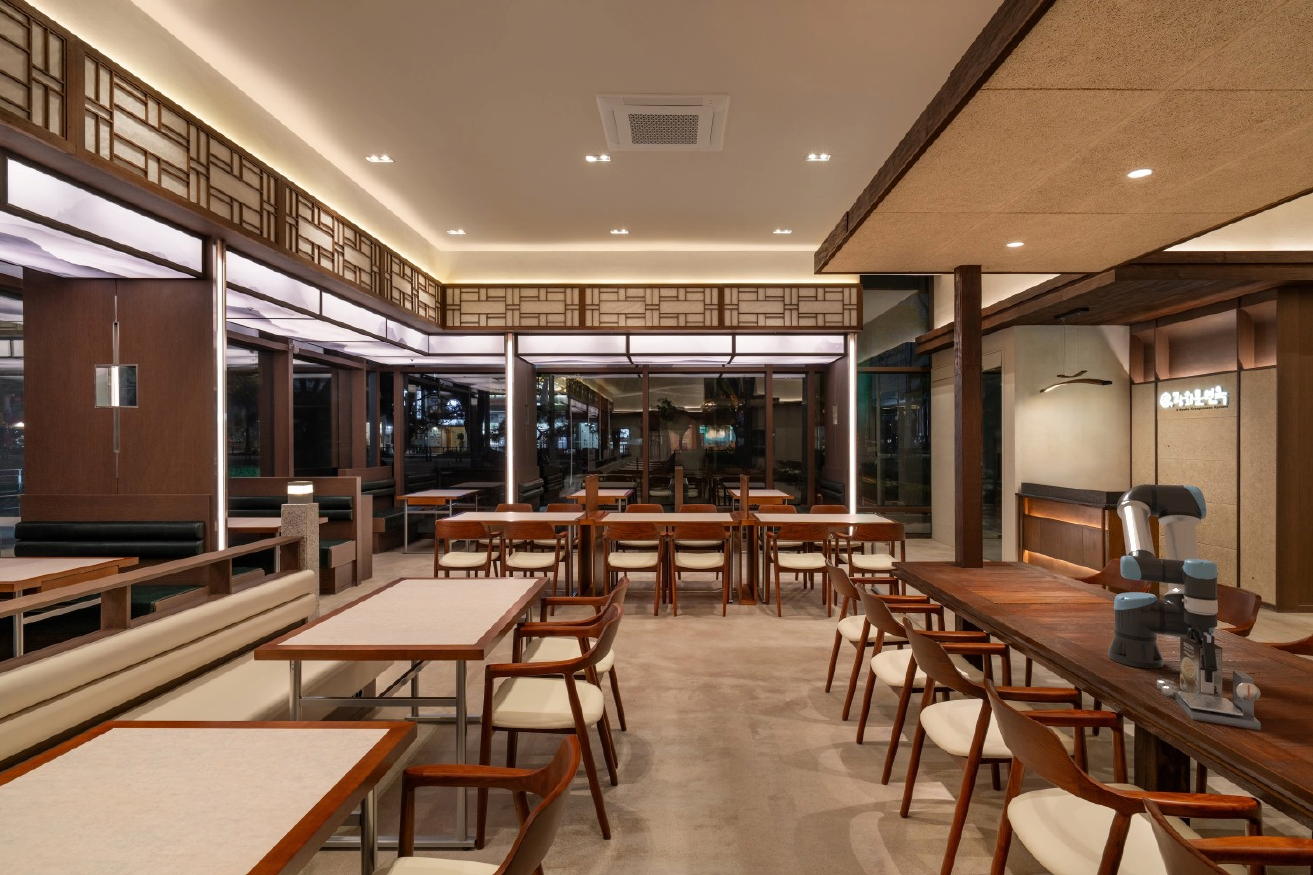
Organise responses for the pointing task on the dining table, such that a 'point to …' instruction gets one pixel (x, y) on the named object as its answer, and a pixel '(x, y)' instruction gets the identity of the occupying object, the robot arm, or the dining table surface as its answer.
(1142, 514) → the robot arm
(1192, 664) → the coffee box
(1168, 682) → the cylinder
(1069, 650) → the dining table surface
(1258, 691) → the scale
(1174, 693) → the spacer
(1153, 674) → the dining table surface
